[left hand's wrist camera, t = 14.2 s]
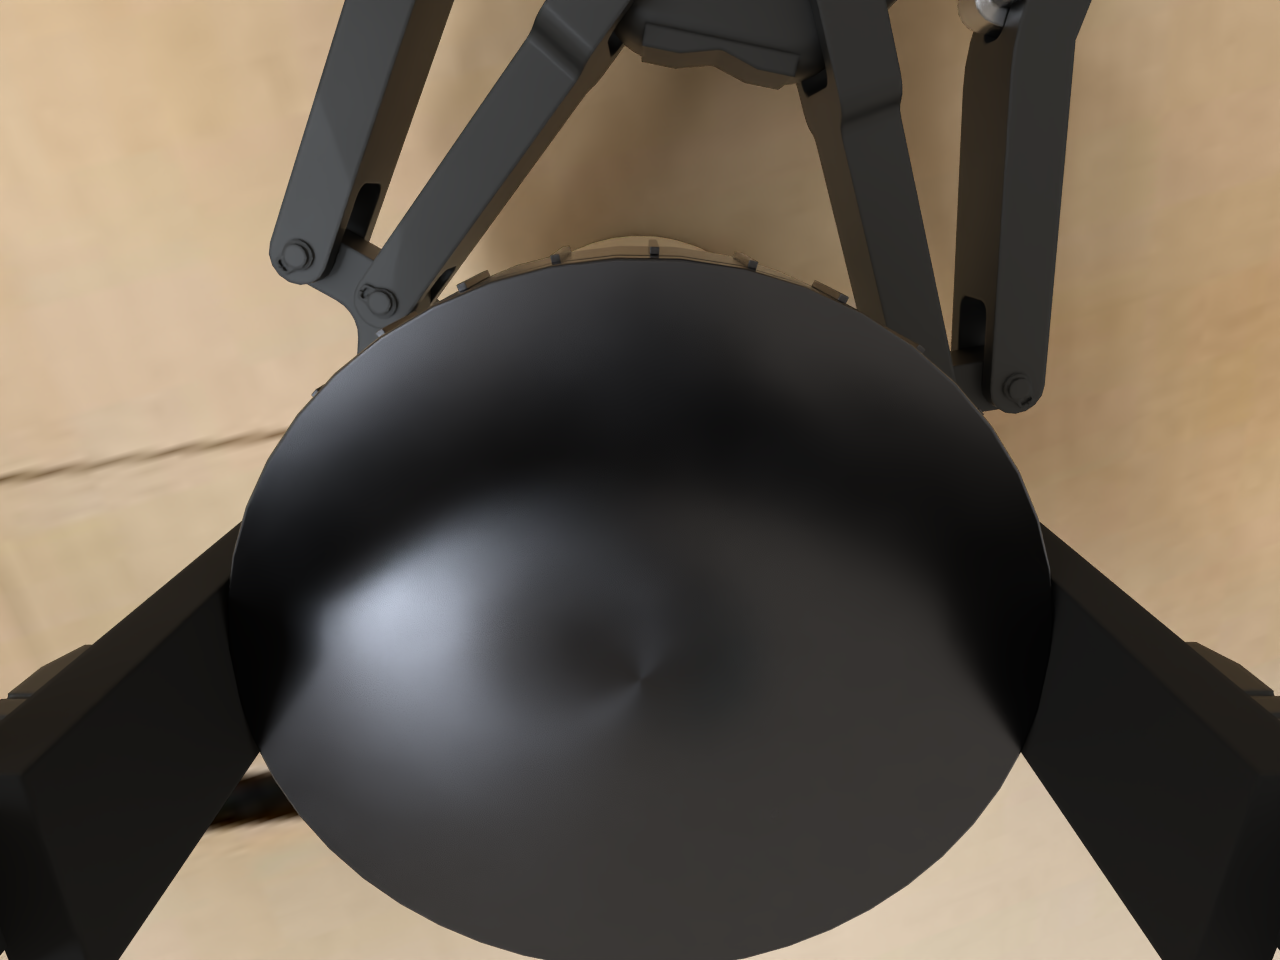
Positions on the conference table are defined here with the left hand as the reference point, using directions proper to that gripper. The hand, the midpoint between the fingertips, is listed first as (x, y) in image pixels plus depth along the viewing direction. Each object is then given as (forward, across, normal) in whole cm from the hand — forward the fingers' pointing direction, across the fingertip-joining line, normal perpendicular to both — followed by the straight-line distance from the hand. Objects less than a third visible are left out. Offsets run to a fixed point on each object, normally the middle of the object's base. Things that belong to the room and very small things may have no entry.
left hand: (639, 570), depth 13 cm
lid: (-3, 0, 0) cm, 3 cm away
